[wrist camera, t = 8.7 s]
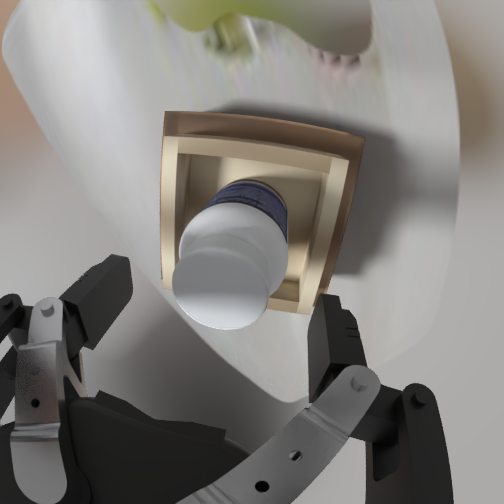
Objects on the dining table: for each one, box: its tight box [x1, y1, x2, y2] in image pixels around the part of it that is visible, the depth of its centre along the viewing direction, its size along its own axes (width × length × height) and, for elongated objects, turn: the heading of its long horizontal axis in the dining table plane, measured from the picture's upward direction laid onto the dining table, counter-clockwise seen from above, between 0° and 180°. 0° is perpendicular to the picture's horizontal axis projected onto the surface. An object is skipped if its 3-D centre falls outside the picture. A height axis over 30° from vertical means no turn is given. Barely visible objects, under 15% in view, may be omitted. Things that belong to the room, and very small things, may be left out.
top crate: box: [161, 134, 349, 315], centre depth 18 cm, size 11×11×4 cm
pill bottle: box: [172, 178, 288, 330], centre depth 15 cm, size 5×5×10 cm
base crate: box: [160, 111, 365, 307], centre depth 22 cm, size 14×14×5 cm
